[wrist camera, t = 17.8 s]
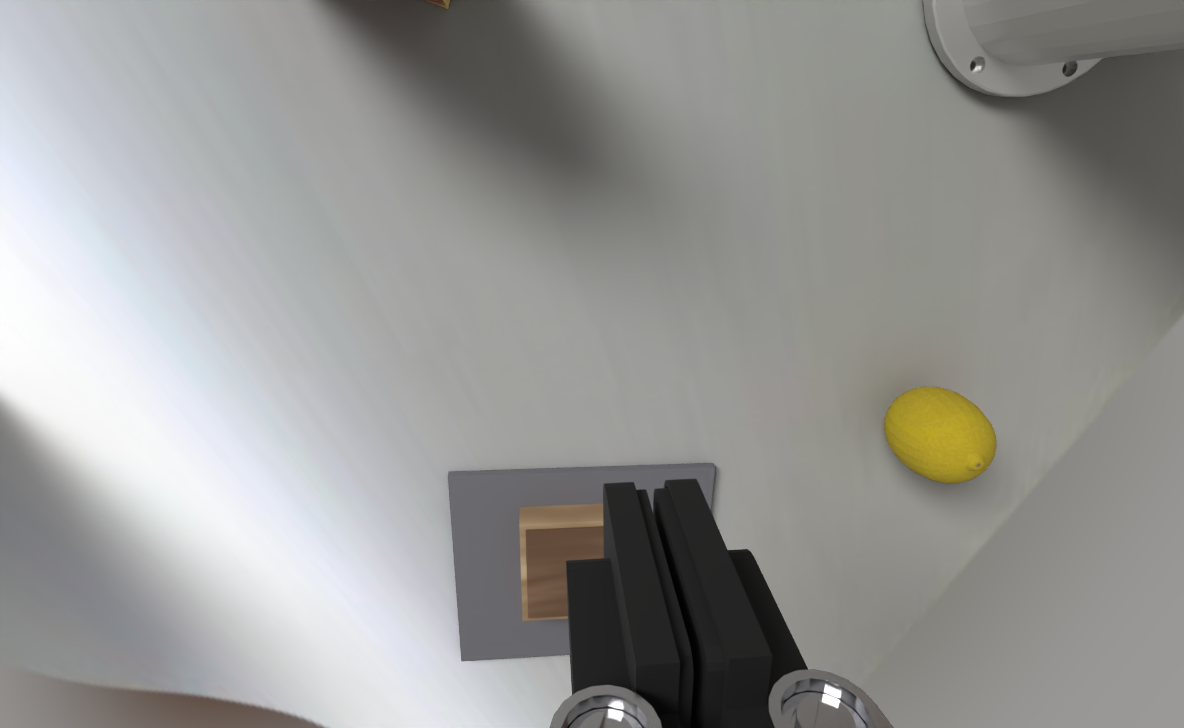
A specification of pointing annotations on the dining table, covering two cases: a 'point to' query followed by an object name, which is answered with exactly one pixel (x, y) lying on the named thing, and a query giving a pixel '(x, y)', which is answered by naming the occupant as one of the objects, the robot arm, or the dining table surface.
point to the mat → (493, 546)
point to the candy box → (440, 3)
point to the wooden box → (555, 554)
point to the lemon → (940, 434)
